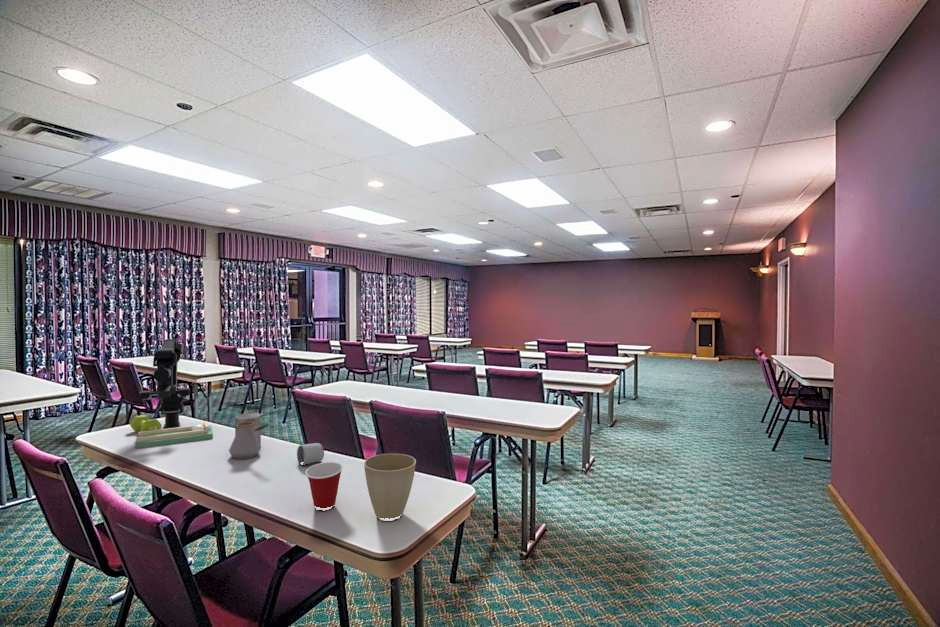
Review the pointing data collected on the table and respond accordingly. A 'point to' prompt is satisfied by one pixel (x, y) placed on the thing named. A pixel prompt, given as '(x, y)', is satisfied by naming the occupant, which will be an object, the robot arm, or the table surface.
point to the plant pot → (389, 483)
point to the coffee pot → (246, 441)
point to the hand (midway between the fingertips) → (165, 412)
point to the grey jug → (249, 418)
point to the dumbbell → (144, 424)
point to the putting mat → (172, 436)
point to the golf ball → (197, 427)
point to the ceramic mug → (310, 453)
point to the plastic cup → (324, 483)
